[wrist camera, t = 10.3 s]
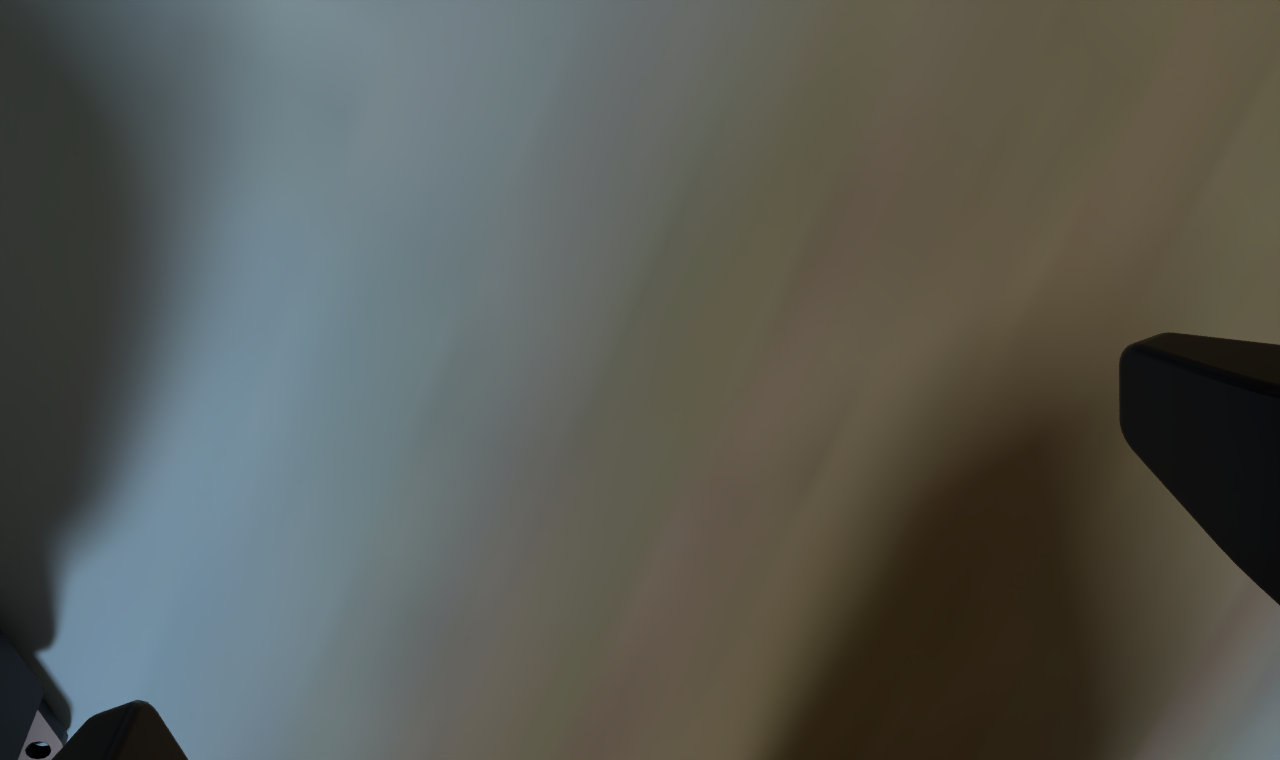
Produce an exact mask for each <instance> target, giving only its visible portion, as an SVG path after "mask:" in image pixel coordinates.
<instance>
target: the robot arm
mask: <svg viewBox="0 0 1280 760" xmlns="http://www.w3.org/2000/svg"><path fill="white" fill-rule="evenodd" d="M1119 411H1120V426H1121V430H1122V433H1123V435H1124V438H1125V440H1126V441H1127V443H1128V445H1129V446H1130V447H1131V449H1132V450H1133V451H1134V452H1135V453H1136V454H1137V455H1138V457H1139V458H1140V459H1141V460H1142V461H1143V462H1144V463H1145V464H1146V465H1147V467H1148V468H1149V469H1150V470H1151V471H1152V472H1153V473H1154V474H1155V476H1156V477H1157V478H1158V479H1159V480H1160V481H1161V482H1162V483H1163V485H1164V486H1165V487H1166V488H1167V489H1168V490H1169V491H1170V492H1171V493H1172V495H1173V496H1174V497H1175V498H1176V499H1177V500H1178V501H1179V502H1180V504H1181V505H1182V506H1183V507H1184V508H1185V509H1186V510H1187V511H1188V512H1189V514H1190V515H1191V516H1192V517H1193V518H1194V519H1195V520H1196V521H1197V523H1198V524H1199V525H1200V526H1201V527H1202V528H1203V529H1204V530H1205V531H1206V533H1207V534H1208V535H1209V536H1210V537H1211V538H1212V539H1213V540H1214V542H1215V543H1216V544H1217V545H1218V546H1219V547H1220V548H1221V549H1222V550H1223V551H1224V552H1225V553H1226V554H1227V555H1228V556H1229V558H1230V559H1231V560H1232V561H1233V562H1234V563H1235V564H1236V565H1237V566H1238V567H1239V568H1240V569H1241V570H1242V571H1243V572H1244V573H1245V574H1247V575H1248V576H1249V577H1250V578H1251V579H1252V580H1253V581H1254V582H1255V583H1256V584H1257V585H1258V586H1259V587H1260V588H1261V589H1262V590H1264V591H1265V592H1266V593H1267V594H1268V595H1269V596H1270V597H1271V598H1272V599H1273V600H1274V601H1276V602H1277V603H1278V604H1279V605H1280V345H1277V344H1268V343H1259V342H1250V341H1242V340H1233V339H1224V338H1215V337H1206V336H1198V335H1189V334H1180V333H1161V334H1158V335H1155V336H1153V337H1150V338H1147V339H1144V340H1141V341H1139V342H1136V343H1133V344H1130V345H1129V346H1127V347H1126V348H1125V349H1124V350H1123V352H1122V354H1121V357H1120V362H1119ZM43 695H44V690H43V688H42V686H41V685H40V683H39V682H38V681H37V679H36V678H35V676H34V675H33V674H32V672H31V671H30V669H29V668H28V667H27V665H26V664H25V662H24V661H23V660H22V658H21V657H20V655H19V654H18V653H17V651H16V650H15V648H14V647H13V645H12V644H11V643H10V641H9V640H8V638H7V637H6V636H5V634H4V633H3V631H2V630H1V629H0V760H188V758H187V757H186V755H185V754H184V752H183V751H182V749H181V748H180V746H179V745H178V743H177V741H176V740H175V738H174V737H173V735H172V734H171V732H170V731H169V729H168V728H167V726H166V725H165V723H164V721H163V720H162V718H161V717H160V715H159V714H158V712H157V711H156V710H155V708H154V707H153V706H152V705H150V704H149V703H148V702H145V701H141V700H135V701H132V702H129V703H126V704H124V705H121V706H118V707H115V708H112V709H109V710H107V711H104V712H101V713H98V714H96V715H94V716H92V717H91V718H89V719H88V720H87V721H86V722H85V723H84V724H83V725H82V726H81V727H80V729H79V730H78V731H77V732H76V733H75V734H74V735H73V736H72V737H71V739H70V740H69V741H68V742H67V739H68V734H67V732H66V729H65V728H64V726H63V725H62V724H61V722H60V721H59V719H58V718H57V717H56V715H55V714H54V712H53V711H52V710H51V708H50V707H49V705H48V704H47V703H46V701H45V700H44V698H43ZM38 741H40V742H45V743H47V744H48V746H38V745H35V744H34V743H33V742H38Z"/></svg>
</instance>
